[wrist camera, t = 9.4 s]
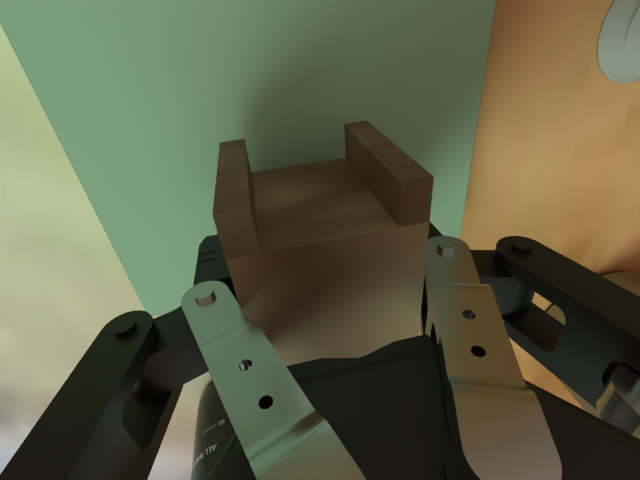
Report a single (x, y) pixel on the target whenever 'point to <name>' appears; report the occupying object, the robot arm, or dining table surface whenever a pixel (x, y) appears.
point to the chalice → (621, 42)
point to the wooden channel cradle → (327, 246)
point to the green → (243, 103)
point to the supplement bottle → (210, 433)
